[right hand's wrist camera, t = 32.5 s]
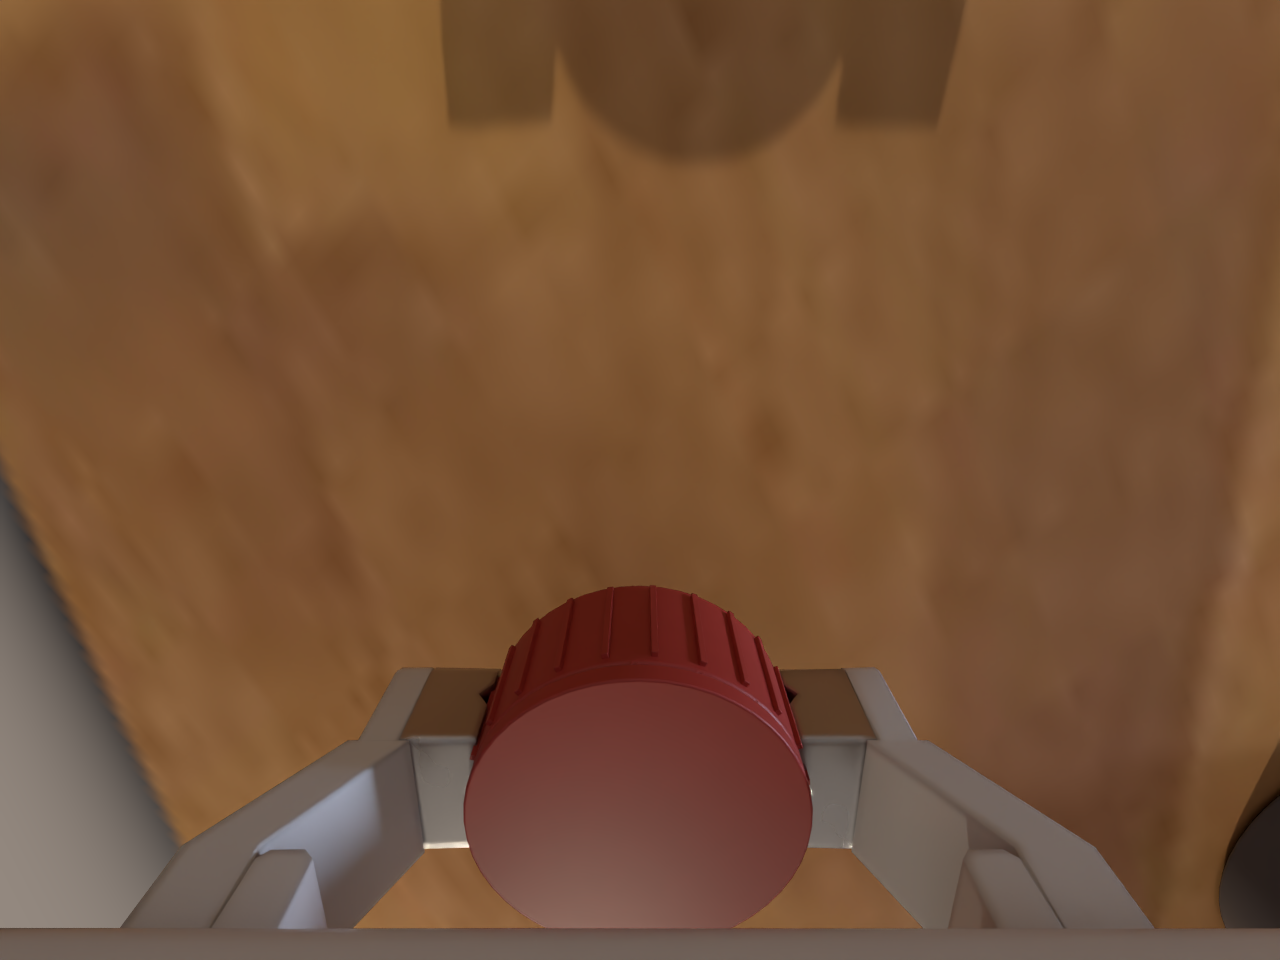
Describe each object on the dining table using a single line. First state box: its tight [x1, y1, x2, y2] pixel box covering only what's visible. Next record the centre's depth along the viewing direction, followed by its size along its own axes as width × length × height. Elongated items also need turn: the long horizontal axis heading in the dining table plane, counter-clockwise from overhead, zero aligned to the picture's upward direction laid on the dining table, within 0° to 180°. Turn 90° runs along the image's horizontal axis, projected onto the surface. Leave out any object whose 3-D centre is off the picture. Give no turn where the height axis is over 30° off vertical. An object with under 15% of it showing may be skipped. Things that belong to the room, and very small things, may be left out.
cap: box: [463, 585, 813, 928], centre depth 9 cm, size 4×4×2 cm
